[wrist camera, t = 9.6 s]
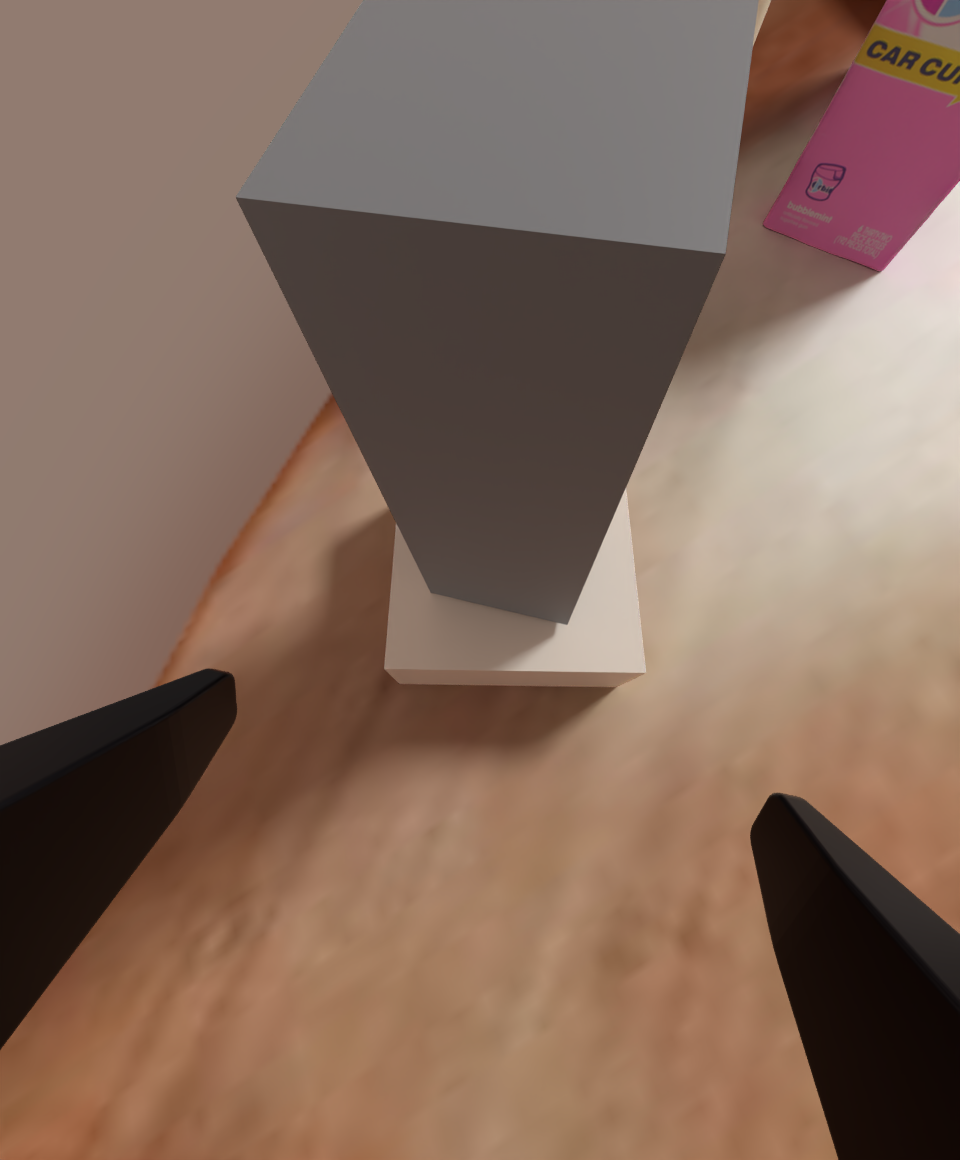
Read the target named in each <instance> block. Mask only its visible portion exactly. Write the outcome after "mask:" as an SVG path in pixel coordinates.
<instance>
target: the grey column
mask: <svg viewBox="0 0 960 1160" xmlns="http://www.w3.org/2000/svg"><path fill="white" fill-rule="evenodd" d="M758 2H759V0H363V2H362V3H361V5H360V6H359V8H358V9H357V11H356V12H355V14H354V16H353V17H352V19H351V20H350V22H349V23H348V25H347V27H346V28H345V30H344V31H343V33H342V34H341V36H340V37H339V39H338V40H337V42H336V43H335V45H334V47H333V48H332V50H331V51H330V53H329V54H328V56H327V57H326V59H325V60H324V62H323V63H322V65H321V66H320V68H319V69H318V71H317V73H316V74H315V76H314V77H313V79H312V80H311V82H310V83H309V85H308V87H307V88H306V89H305V91H304V93H303V94H302V96H301V97H300V99H299V100H298V102H297V104H296V105H295V106H294V108H293V110H292V111H291V113H290V114H289V116H288V117H287V119H286V120H285V122H284V123H283V125H282V126H281V128H280V130H279V131H278V133H277V134H276V136H275V137H274V139H273V140H272V142H271V144H270V145H269V147H268V148H267V150H266V151H265V153H264V154H263V156H262V157H261V159H260V160H259V162H258V164H257V165H256V167H255V168H254V170H253V171H252V173H251V174H250V176H249V177H248V179H247V180H246V182H245V184H244V185H243V187H242V188H241V190H240V191H239V193H238V194H237V196H236V199H237V201H238V203H239V205H240V207H241V209H242V211H243V213H244V215H245V217H246V219H247V221H248V223H249V225H250V227H251V229H252V231H253V234H254V236H255V237H256V239H257V241H258V244H259V245H260V247H261V250H262V252H263V254H264V256H265V257H266V260H267V262H268V264H269V266H270V268H271V270H272V272H273V274H274V276H275V278H276V280H277V282H278V284H279V286H280V288H281V290H282V292H283V294H284V296H285V298H286V300H287V302H288V304H289V307H290V308H291V311H292V312H293V314H294V317H295V319H296V321H297V323H298V325H299V327H300V329H301V331H302V333H303V335H304V337H305V339H306V341H307V343H308V345H309V347H310V349H311V351H312V353H313V355H314V357H315V359H316V361H317V363H318V365H319V367H320V369H321V371H322V373H323V375H324V377H325V379H326V381H327V384H328V386H329V388H330V390H331V392H332V394H333V396H334V398H335V400H336V402H337V404H338V406H339V408H340V410H341V412H342V414H343V416H344V418H345V420H346V422H347V424H348V426H349V428H350V430H351V432H352V434H353V436H354V438H355V440H356V442H357V444H358V446H359V448H360V450H361V453H362V455H363V457H364V459H365V461H366V463H367V465H368V467H369V469H370V471H371V473H372V475H373V477H374V479H375V481H376V483H377V485H378V487H379V489H380V491H381V493H382V495H383V497H384V499H385V501H386V503H387V505H388V507H389V509H390V511H391V513H392V515H393V517H394V519H395V521H396V523H397V526H398V528H399V530H400V532H401V534H402V536H403V538H404V540H405V542H406V544H407V546H408V548H409V550H410V552H411V554H412V556H413V558H414V560H415V562H416V564H417V566H418V568H419V570H420V572H421V574H422V576H423V578H424V580H425V582H426V584H427V586H428V588H429V590H430V592H431V593H434V594H438V595H443V596H447V597H451V598H455V599H459V600H464V601H468V602H472V603H476V604H481V605H485V606H489V607H493V608H498V609H502V610H506V611H510V612H514V613H519V614H523V615H527V616H531V617H536V618H540V619H544V620H548V621H553V622H557V623H561V624H565V625H568V622H569V620H570V618H571V615H572V613H573V610H574V608H575V606H576V603H577V601H578V599H579V596H580V594H581V592H582V589H583V587H584V585H585V582H586V580H587V578H588V575H589V573H590V571H591V568H592V566H593V564H594V561H595V559H596V557H597V554H598V552H599V549H600V547H601V545H602V542H603V540H604V538H605V535H606V533H607V531H608V528H609V526H610V524H611V521H612V519H613V517H614V514H615V512H616V510H617V507H618V505H619V503H620V500H621V498H622V495H623V493H624V491H625V488H626V486H627V484H628V481H629V479H630V477H631V474H632V472H633V470H634V467H635V465H636V463H637V460H638V458H639V456H640V453H641V451H642V449H643V446H644V444H645V442H646V439H647V437H648V434H649V432H650V430H651V427H652V425H653V423H654V420H655V418H656V416H657V413H658V411H659V409H660V406H661V404H662V402H663V399H664V397H665V395H666V392H667V390H668V388H669V385H670V383H671V381H672V378H673V376H674V373H675V371H676V369H677V366H678V364H679V362H680V359H681V357H682V355H683V352H684V350H685V348H686V345H687V343H688V341H689V338H690V336H691V334H692V331H693V329H694V327H695V324H696V322H697V319H698V317H699V315H700V312H701V310H702V308H703V305H704V303H705V301H706V298H707V296H708V294H709V291H710V289H711V287H712V284H713V282H714V280H715V277H716V275H717V273H718V270H719V268H720V266H721V263H722V261H723V258H724V256H725V254H726V246H727V238H728V231H729V223H730V216H731V208H732V200H733V193H734V185H735V177H736V170H737V162H738V154H739V147H740V139H741V132H742V124H743V116H744V109H745V101H746V93H747V86H748V78H749V70H750V63H751V55H752V48H753V40H754V32H755V25H756V17H757V9H758Z"/></svg>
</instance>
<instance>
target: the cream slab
mask: <svg viewBox="0 0 960 1160" xmlns="http://www.w3.org/2000/svg"><path fill="white" fill-rule="evenodd" d="M384 669H385V670H386V671H387V672H388V673H389V674H390V675H391V676H392V677H393V678H394V679H395V680H396V681H397V682H398V683H399V684H433V685H500V686H566V687H618V686H620V685H622V684H624V683H626V682H628V681H630V680H633V679H635V678H637V677H639V676H641V675H643V674H645V673H646V667H645V658H644V649H643V639H642V630H641V621H640V612H639V603H638V594H637V584H636V575H635V566H634V557H633V548H632V538H631V529H630V520H629V511H628V502H627V493H626V488H625V491H624V493H623V495H622V498H621V500H620V503H619V505H618V507H617V510H616V512H615V514H614V517H613V519H612V521H611V524H610V526H609V528H608V531H607V533H606V535H605V538H604V540H603V542H602V545H601V547H600V549H599V552H598V554H597V557H596V559H595V561H594V564H593V566H592V568H591V571H590V573H589V575H588V578H587V580H586V582H585V585H584V587H583V589H582V592H581V594H580V596H579V599H578V601H577V603H576V606H575V608H574V610H573V613H572V615H571V618H570V620H569V622H568V625H565V624H561V623H557V622H553V621H548V620H544V619H540V618H536V617H531V616H527V615H523V614H519V613H514V612H510V611H506V610H502V609H498V608H493V607H489V606H485V605H481V604H476V603H472V602H468V601H464V600H459V599H455V598H451V597H447V596H443V595H438V594H434V593H431V592H430V590H429V588H428V586H427V584H426V582H425V580H424V578H423V576H422V574H421V572H420V570H419V568H418V566H417V564H416V562H415V560H414V558H413V556H412V554H411V552H410V550H409V548H408V546H407V544H406V542H405V540H404V538H403V536H402V534H401V532H400V530H399V528H398V526H397V523H396V531H395V543H394V555H393V567H392V579H391V591H390V603H389V615H388V627H387V639H386V651H385V663H384Z"/></svg>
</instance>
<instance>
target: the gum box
mask: <svg viewBox="0 0 960 1160" xmlns="http://www.w3.org/2000/svg"><path fill="white" fill-rule="evenodd" d="M959 181H960V0H887V1H886V2H885V4H884V6H883V8H882V10H881V11H880V13H879V15H878V17H877V19H876V21H875V22H874V24H873V26H872V28H871V30H870V32H869V33H868V35H867V37H866V39H865V41H864V43H863V44H862V46H861V48H860V50H859V52H858V53H857V55H856V57H855V59H854V61H853V62H852V64H851V66H850V68H849V70H848V71H847V73H846V75H845V77H844V79H843V80H842V82H841V84H840V86H839V88H838V89H837V91H836V93H835V95H834V97H833V98H832V100H831V102H830V104H829V106H828V107H827V109H826V111H825V113H824V114H823V116H822V118H821V120H820V122H819V123H818V125H817V127H816V129H815V131H814V132H813V134H812V136H811V138H810V140H809V142H808V144H807V145H806V147H805V149H804V151H803V152H802V154H801V156H800V158H799V159H798V161H797V163H796V165H795V167H794V169H793V171H792V172H791V174H790V176H789V178H788V180H787V182H786V183H785V185H784V187H783V189H782V191H781V192H780V194H779V196H778V198H777V200H776V201H775V203H774V205H773V206H772V208H771V210H770V212H769V213H768V215H767V217H766V218H765V220H764V223H763V225H764V226H765V227H766V228H769V229H771V230H774V231H776V232H779V233H781V234H784V235H786V236H789V237H791V238H794V239H796V240H798V241H801V242H803V243H805V244H807V245H810V246H812V247H815V248H818V249H820V250H823V251H825V252H828V253H830V254H833V255H836V256H839V257H843V258H846V259H849V260H851V261H854V262H856V263H859V264H861V265H864V266H867V267H869V268H872V269H874V270H877V271H882V270H884V269H885V268H886V266H887V265H888V264H889V263H890V262H891V260H892V259H893V258H894V257H895V256H896V255H897V253H898V252H899V251H900V250H901V249H902V248H903V246H904V245H905V244H906V243H907V242H908V241H909V240H910V238H911V237H912V236H913V235H914V234H915V232H916V231H917V230H918V229H919V228H920V227H921V226H922V224H923V223H924V222H925V221H926V220H927V219H928V218H929V216H930V215H931V214H932V213H933V211H934V210H935V209H936V208H937V206H938V205H939V204H940V203H941V202H942V201H943V200H944V198H945V197H946V196H947V195H948V194H949V193H950V192H951V190H952V189H953V188H954V187H955V186H956V185H957V183H958V182H959Z"/></svg>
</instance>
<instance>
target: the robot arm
mask: <svg viewBox="0 0 960 1160" xmlns="http://www.w3.org/2000/svg"><path fill="white" fill-rule="evenodd" d="M236 715H237V703H236V690H235V680H234V677H233V675H232V674H231V673H229V672H225V671H220V670H216V669H204V670H201V671H199V672H196V673H193V674H191V675H188V676H185V677H182V678H180V679H177V680H174V681H172V682H169V683H166V684H164V685H161V686H158V687H156V688H153V689H150V690H148V691H145V692H142V693H140V694H137V695H134V696H132V697H129V698H126V699H124V700H121V701H118V702H116V703H113V704H110V705H107V706H105V707H102V708H100V709H97V710H94V711H91V712H89V713H86V714H84V715H81V716H78V717H75V718H73V719H70V720H67V721H65V722H62V723H59V724H57V725H54V726H51V727H48V728H46V729H43V730H41V731H38V732H35V733H33V734H30V735H27V736H24V737H22V738H19V739H16V740H14V741H11V742H8V743H6V744H3V745H0V1050H1V1048H2V1047H3V1046H4V1044H5V1043H6V1042H7V1040H8V1039H9V1038H10V1036H11V1035H12V1034H13V1032H14V1031H15V1030H16V1028H17V1027H18V1026H19V1024H20V1023H21V1022H22V1020H23V1019H24V1018H25V1016H26V1015H27V1014H28V1012H29V1011H30V1010H31V1008H32V1007H33V1006H34V1004H35V1003H36V1002H37V1000H38V999H39V998H40V996H41V995H42V994H43V992H44V991H45V990H46V988H47V987H48V986H49V984H50V983H51V982H52V980H53V979H54V978H55V976H56V975H57V974H58V972H59V971H60V970H61V968H62V967H63V966H64V964H65V963H66V962H67V960H68V959H69V958H70V956H71V955H72V954H73V952H74V951H75V950H76V948H77V947H78V946H79V944H80V943H81V942H82V940H83V939H84V938H85V936H86V935H87V934H88V932H89V931H90V930H91V928H92V927H93V926H94V924H95V923H96V922H97V920H98V919H99V918H100V916H101V915H102V914H103V912H104V911H105V910H106V908H107V907H108V906H109V904H110V903H111V902H112V900H113V899H114V898H115V896H116V895H117V894H118V892H119V891H120V890H121V889H122V887H123V886H124V885H125V883H126V882H127V881H128V879H129V878H130V877H131V875H132V874H133V873H134V871H135V870H136V869H137V867H138V866H139V865H140V863H141V862H142V861H143V859H144V858H145V857H146V855H147V854H148V853H149V851H150V850H151V849H152V847H153V846H154V845H155V843H156V842H157V841H158V839H159V838H160V837H161V835H162V834H163V833H164V831H165V830H166V829H167V827H168V826H169V825H170V823H171V822H172V821H173V819H174V818H175V816H176V815H177V814H178V812H179V811H180V809H181V808H182V807H183V805H184V804H185V802H186V800H187V799H188V797H189V796H190V794H191V793H192V791H193V789H194V788H195V786H196V785H197V783H198V781H199V780H200V778H201V776H202V775H203V773H204V771H205V770H206V768H207V767H208V765H209V763H210V762H211V760H212V758H213V757H214V755H215V753H216V752H217V750H218V749H219V747H220V745H221V744H222V742H223V740H224V739H225V737H226V736H227V734H228V732H229V731H230V729H231V727H232V726H233V724H234V721H235V719H236ZM750 840H751V846H752V851H753V856H754V860H755V865H756V870H757V875H758V879H759V884H760V889H761V894H762V898H763V903H764V908H765V913H766V917H767V922H768V927H769V931H770V935H771V940H772V944H773V948H774V951H775V955H776V958H777V962H778V965H779V969H780V972H781V975H782V978H783V982H784V985H785V988H786V991H787V995H788V998H789V1001H790V1004H791V1008H792V1011H793V1014H794V1017H795V1020H796V1024H797V1027H798V1030H799V1033H800V1037H801V1040H802V1043H803V1046H804V1050H805V1053H806V1056H807V1059H808V1063H809V1066H810V1069H811V1072H812V1075H813V1079H814V1082H815V1085H816V1088H817V1092H818V1095H819V1098H820V1101H821V1105H822V1108H823V1111H824V1114H825V1118H826V1121H827V1124H828V1127H829V1131H830V1134H831V1137H832V1140H833V1143H834V1147H835V1150H836V1153H837V1156H838V1160H960V934H959V933H958V932H957V931H956V930H954V929H953V928H952V927H951V926H950V925H949V924H947V923H946V922H945V921H944V920H943V919H942V918H941V917H939V916H938V915H937V914H936V913H935V912H934V911H932V910H931V909H930V908H929V907H928V906H927V905H926V904H924V903H923V902H922V901H921V900H920V899H919V898H918V897H916V896H915V895H914V894H913V893H912V892H911V891H909V890H908V889H907V888H906V887H905V886H904V885H903V884H901V883H900V882H899V881H898V880H897V879H896V878H894V877H893V876H892V875H891V874H890V873H889V872H888V871H886V870H885V869H884V868H883V867H882V866H881V865H879V864H878V863H877V862H876V861H875V860H874V859H873V858H871V857H870V856H869V855H868V854H867V853H866V852H865V851H863V850H862V849H861V848H860V847H859V846H858V845H856V844H855V843H854V842H853V841H852V840H851V839H850V838H848V837H847V836H846V835H845V834H844V833H843V832H841V831H840V830H839V829H838V828H837V827H836V826H835V825H833V824H832V823H831V822H830V821H829V820H828V819H826V818H825V817H824V816H823V815H822V814H821V813H820V812H818V811H817V810H816V809H815V808H814V807H813V806H812V805H810V804H809V803H808V802H807V801H806V800H804V799H802V798H800V797H797V796H792V795H788V794H783V793H773V794H772V795H770V796H769V797H768V799H767V801H766V802H765V804H764V806H763V808H762V809H761V811H760V813H759V815H758V816H757V818H756V820H755V821H754V823H753V825H752V828H751V833H750Z"/></svg>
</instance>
